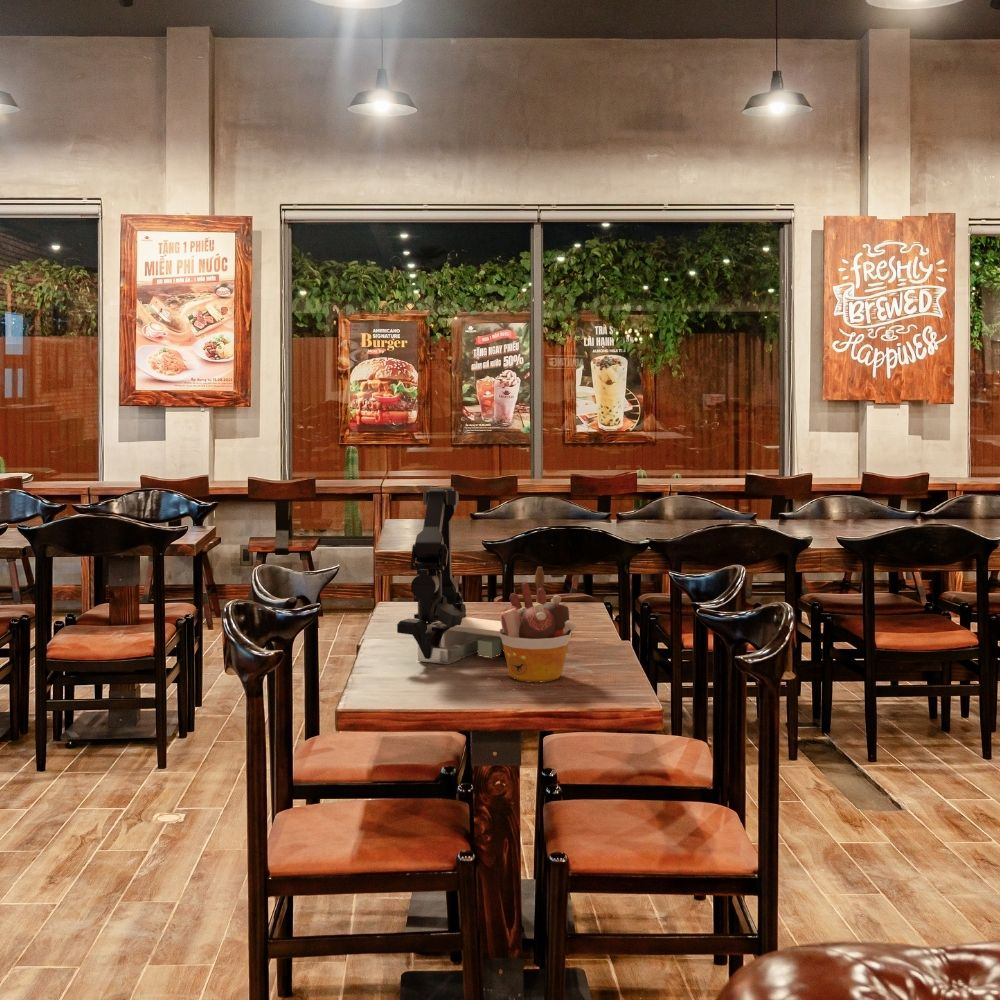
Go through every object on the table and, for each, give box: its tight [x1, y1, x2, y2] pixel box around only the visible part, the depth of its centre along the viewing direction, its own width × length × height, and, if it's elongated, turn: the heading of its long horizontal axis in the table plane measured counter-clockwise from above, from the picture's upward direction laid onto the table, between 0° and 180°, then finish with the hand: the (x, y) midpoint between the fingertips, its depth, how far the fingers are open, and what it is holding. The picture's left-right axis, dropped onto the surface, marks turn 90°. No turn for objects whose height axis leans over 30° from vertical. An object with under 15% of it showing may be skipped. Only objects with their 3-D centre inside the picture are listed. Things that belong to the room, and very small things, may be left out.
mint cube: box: [477, 637, 502, 657], centre depth 278 cm, size 4×4×4 cm
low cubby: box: [440, 616, 504, 650], centre depth 280 cm, size 20×10×7 cm, turn 58°
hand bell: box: [533, 566, 545, 607], centre depth 316 cm, size 8×8×16 cm
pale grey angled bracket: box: [417, 637, 484, 665], centre depth 277 cm, size 13×18×4 cm
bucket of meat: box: [500, 582, 577, 683], centre depth 256 cm, size 20×16×20 cm
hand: (430, 657), depth 271 cm, fingers closed on pale grey angled bracket, 2 cm apart
